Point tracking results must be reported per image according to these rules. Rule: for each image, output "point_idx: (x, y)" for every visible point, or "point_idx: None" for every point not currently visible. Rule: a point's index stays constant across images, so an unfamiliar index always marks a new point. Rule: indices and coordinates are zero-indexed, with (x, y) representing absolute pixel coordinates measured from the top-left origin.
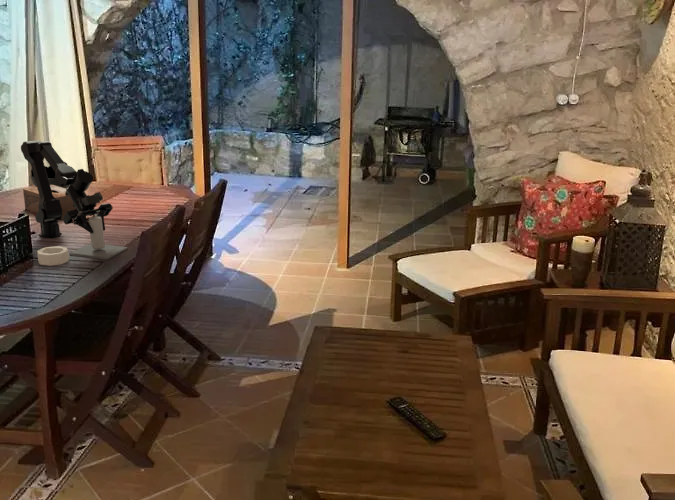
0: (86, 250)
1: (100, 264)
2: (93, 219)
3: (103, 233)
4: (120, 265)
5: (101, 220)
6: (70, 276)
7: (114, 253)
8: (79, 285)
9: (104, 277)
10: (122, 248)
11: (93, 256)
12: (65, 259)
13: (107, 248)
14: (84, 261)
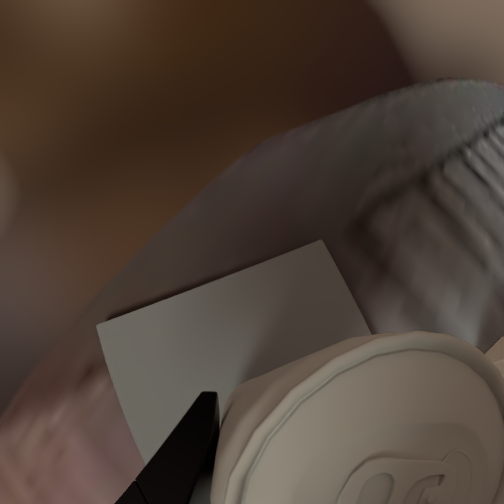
0: None
1: (378, 206)
2: (478, 408)
3: (235, 395)
4: (310, 138)
5: (278, 375)
6: (494, 183)
7: (239, 273)
8: (474, 116)
9: (407, 103)
10: (133, 326)
11: (364, 325)
12: (495, 349)
13: None
14: (422, 304)
